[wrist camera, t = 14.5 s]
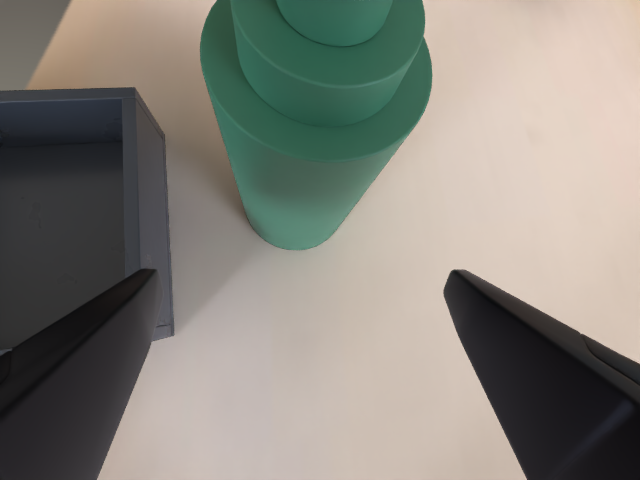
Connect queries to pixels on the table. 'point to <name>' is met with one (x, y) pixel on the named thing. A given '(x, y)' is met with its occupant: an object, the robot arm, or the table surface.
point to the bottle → (312, 103)
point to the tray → (78, 204)
